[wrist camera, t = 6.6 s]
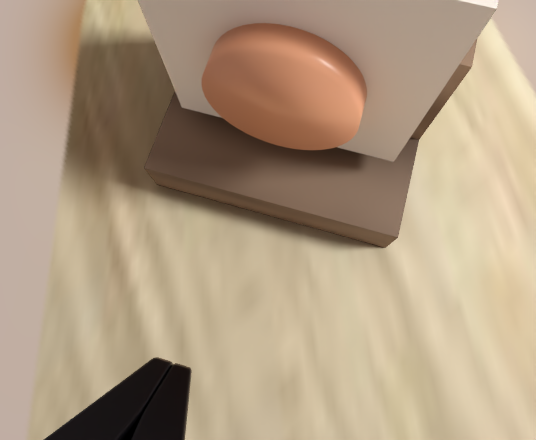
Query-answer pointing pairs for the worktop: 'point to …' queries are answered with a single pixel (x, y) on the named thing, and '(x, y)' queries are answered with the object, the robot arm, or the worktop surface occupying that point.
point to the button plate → (316, 65)
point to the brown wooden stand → (290, 172)
